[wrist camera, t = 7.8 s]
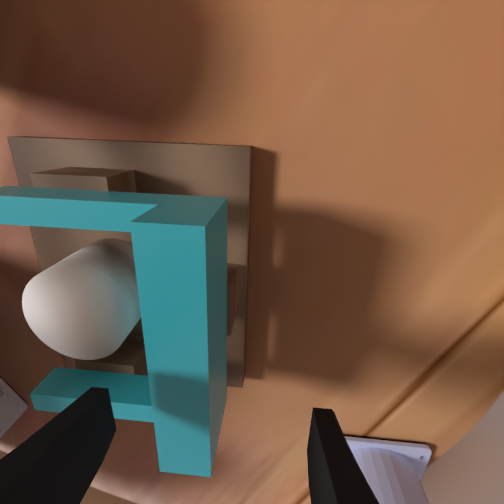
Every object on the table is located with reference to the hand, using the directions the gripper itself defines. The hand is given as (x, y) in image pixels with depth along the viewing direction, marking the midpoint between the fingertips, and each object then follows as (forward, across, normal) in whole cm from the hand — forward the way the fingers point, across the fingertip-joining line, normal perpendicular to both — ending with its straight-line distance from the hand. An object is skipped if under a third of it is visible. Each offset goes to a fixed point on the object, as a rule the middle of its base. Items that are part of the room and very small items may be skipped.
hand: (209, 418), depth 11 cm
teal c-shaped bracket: (+6, +5, -1) cm, 8 cm away
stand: (+10, +6, -1) cm, 11 cm away
